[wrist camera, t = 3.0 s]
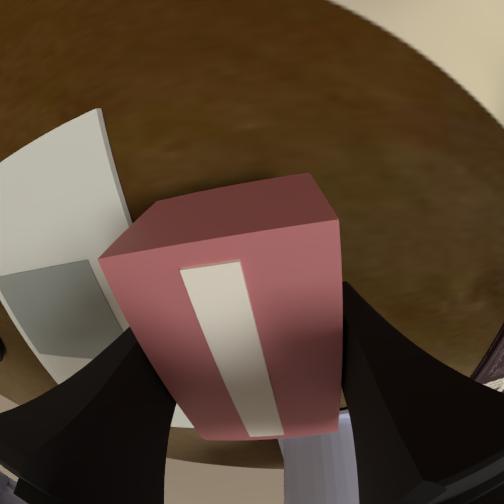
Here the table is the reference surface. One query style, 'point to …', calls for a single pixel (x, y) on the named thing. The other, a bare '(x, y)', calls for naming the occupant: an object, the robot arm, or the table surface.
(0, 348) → the carrying case or bag
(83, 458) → the robot arm
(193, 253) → the box
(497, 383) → the chocolate bar
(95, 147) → the mat
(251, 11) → the table surface
